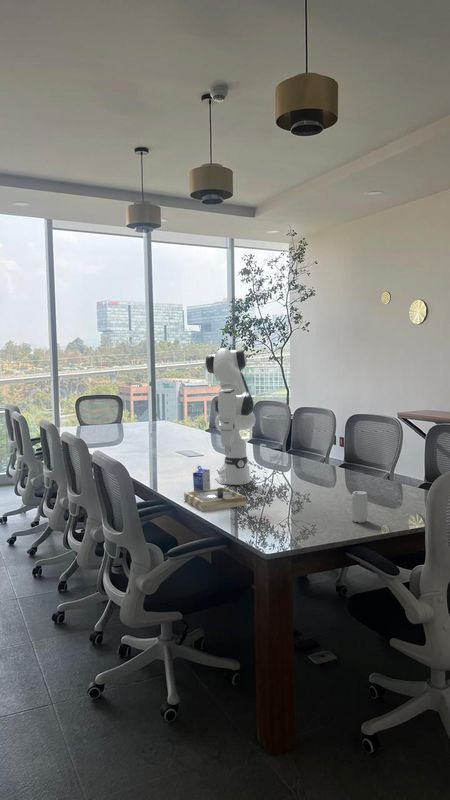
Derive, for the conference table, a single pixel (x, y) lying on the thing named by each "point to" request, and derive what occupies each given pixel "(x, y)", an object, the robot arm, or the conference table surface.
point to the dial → (214, 495)
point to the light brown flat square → (215, 504)
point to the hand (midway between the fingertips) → (228, 453)
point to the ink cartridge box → (201, 479)
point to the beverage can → (359, 506)
